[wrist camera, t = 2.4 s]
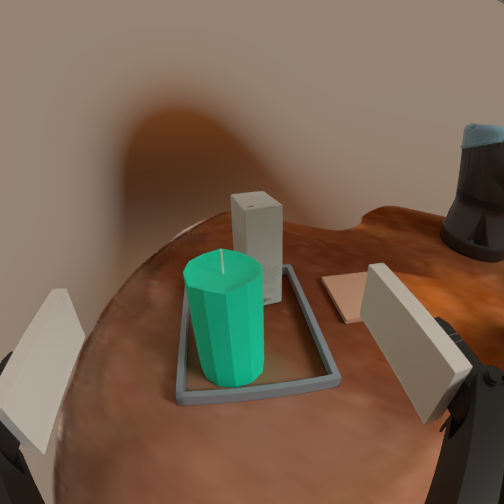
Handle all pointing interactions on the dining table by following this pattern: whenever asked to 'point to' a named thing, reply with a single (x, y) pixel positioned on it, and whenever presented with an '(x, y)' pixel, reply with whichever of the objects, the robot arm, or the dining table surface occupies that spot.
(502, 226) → the robot arm
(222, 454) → the dining table surface
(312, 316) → the grey rectangular frame
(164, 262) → the dining table surface
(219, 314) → the candle
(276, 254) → the skincare box
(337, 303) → the coaster
